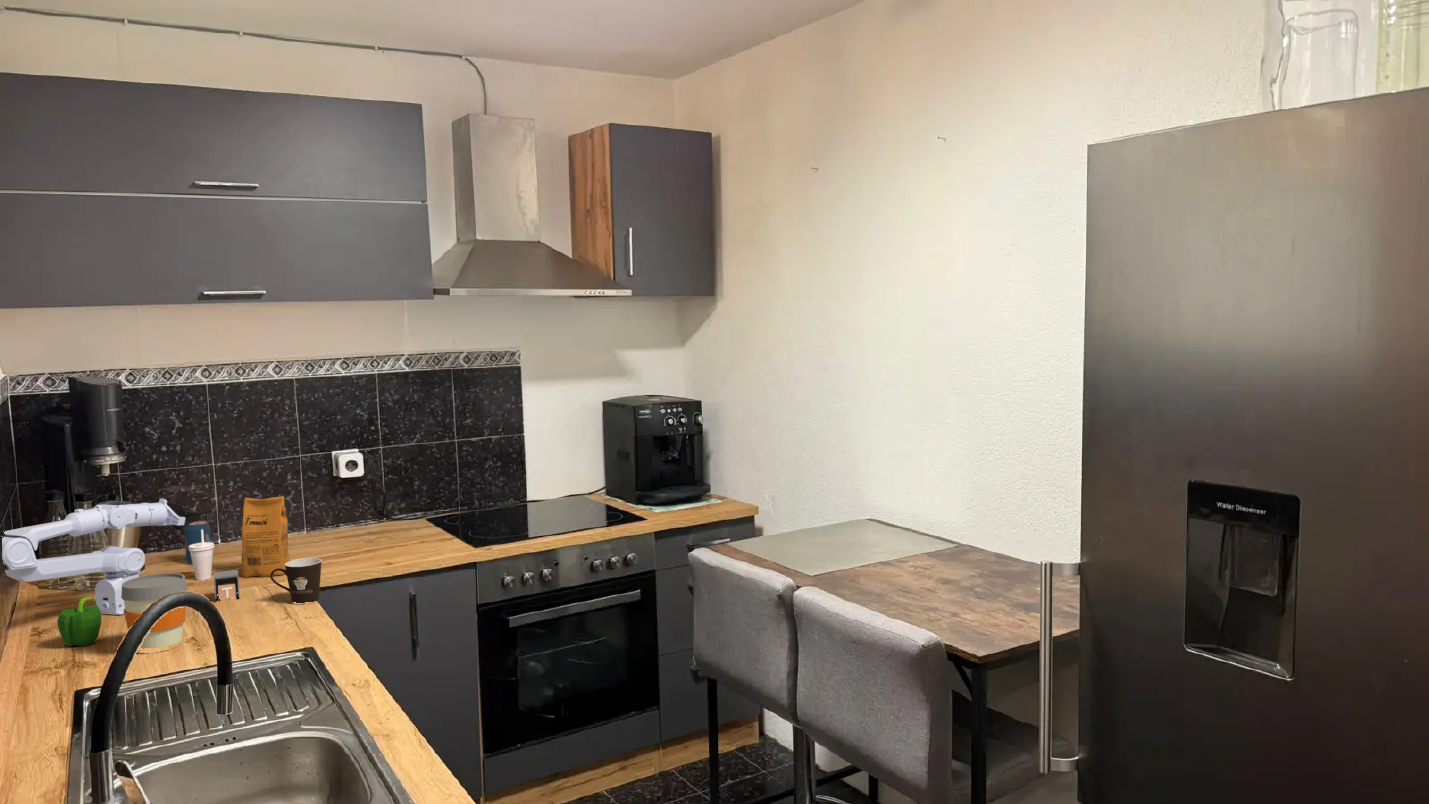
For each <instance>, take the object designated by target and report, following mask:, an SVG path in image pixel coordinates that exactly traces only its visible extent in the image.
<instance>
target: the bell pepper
mask: <svg viewBox="0 0 1429 804" xmlns="http://www.w3.org/2000/svg"><path fill="white" fill-rule="evenodd" d="M90 600H91V598H90V596H89V597H88V596H87V597H86V596H85V597H84V598H82V599H80V600H79V602H78V604H77V607H75V608H74V609H72V608H66V609H62V611H61V612H60V614H59V616H58V618H57V622H56V623H57V629H58V631H59V634H60V636H61V639H62V641H63V642H64V643H65V644H66V645H67V646H68V647H74V645H76V646H82V647H83V646H88V645H91V644H94V643H95V642H96V641H97V639H98V638H99V635H100V630H101V625H102V614H101V611H100V610H99V608H98V606H97V605H96V604H93V605H85V602H89V601H90Z"/></svg>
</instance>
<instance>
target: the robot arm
mask: <svg viewBox="0 0 1429 804" xmlns="http://www.w3.org/2000/svg"><path fill="white" fill-rule="evenodd" d="M201 516H202V513H201V512H199V511H193V510H191V511H190V510H187V509H186V508H182V505H181V504H178V503H174V502H173V503H172V502H168V500H167V499H165V498H158V497H157V498H156V497H153V498H152V499H151V502H141V503H127V504H119V505H118V504H117V505H116V504H115V505H114V504H107V503H106V504H104V503H103V504H96V505H95V506H94V507H93V508H88V509H85V510H84V509H83V508H77V509H74V512H71V513H68V514H67V515H66V516H65V518H64V519H63V520H58V521H57V520H56V521H52V522H47V523H41V524H36V525H31V526H30V525H29V526H24V527H20V528H19V527H18V528H15V529H10V530H4V531H5V532H4V531H3V532H4V534H5V536H4V537H3V536H2V537H3V538H2V560H3V564H4V565H6V568H5V573H6V575H5V576H7V577H9V578H10V579H13V580H15V581H17V582H18V581H19V582H27V583H31V582H37V581H44V580H45V581H46V580H51V579H60V578H67V577H72V576H80V575H88V574H93V573H94V574H95V573H103V575H104V578H103V579H101V580H99V581H98V582H97V583H96V585H95V587H94V593H95V594H94V596H95V605H97V606H98V608H99V610H100V611H101V615H119V616H120V615H124V609H125V605H124V600H123V599H122V598H121V593H122V584H123V583H124V582H125V581H128V580H130V579H133V578H137V577H140V573H141V569H143V567H144V565H145V563H146V562H145V561H146V556H145V553H144V551H143V550H142V549H141V548H138V547H122V546H115V545H107V546H104V547H103V548H101V549H99V550H93V551H92V552H91V553H80V554H74V555H72V554H71V555H65V556H54V557H48V558H47V557H46V558H39V559H37V558H36V557H37V556H36V554H35V552H34V551H37V550H38V547H39V543H40V542H42V541H45V540H49V539H53V538H55V537H56V538H57V537H59V536H60V537H61V536H63V535H67V534H68V535H70V536H71V537H80V536H84V535H87V534H92V533H97V532H100V531H103V530H105V529H116V530H121V529H123V528H124V527H126V528H132V527H133V528H134V527H147V526H148V527H151V526H157V527H161V526H173V529H175V530H177V531H179V530H184V529H185V527H186V526H187V525H189V524H191V523H194V522H197V521H201Z"/></svg>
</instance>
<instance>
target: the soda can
mask: <svg viewBox="0 0 1429 804" xmlns="http://www.w3.org/2000/svg"><path fill="white" fill-rule="evenodd" d="M208 522H209V521H208V520H199V521H197V522H194V523H191V524H189V525H187V526H186V527H184V528H183V531H184V532H183V535H184V547H185V548H184V550H185V560H186V562H187V563H188V564H189V565H193V563H192V558H191V553H190V551H189V550H188V549H189V546H190V545H192V544H196V543H202V539H201V530H202V529H203V535H204V542H211V543H212V533H211V532H212V530H211V526H210V524H209V523H208Z"/></svg>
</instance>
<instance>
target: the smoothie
mask: <svg viewBox="0 0 1429 804" xmlns="http://www.w3.org/2000/svg"><path fill="white" fill-rule="evenodd" d="M201 539H202V543H196V544H192V545H190V546H189V549H188V550H189V551H190V553H191V558H192V563H193V564H192V567H193V571H194V576H195V580H196V579H197V580H196V581H198V580H202V581H206V580H205V579H208V580H210V579H211V578H212V569H213V555H214V548H215V543H214V542H212V541H211V542H204V535H203V529H202V530H201ZM209 578H210V579H209Z"/></svg>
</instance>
